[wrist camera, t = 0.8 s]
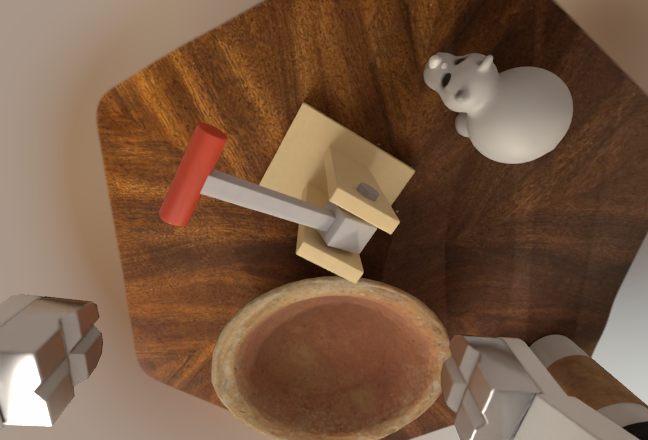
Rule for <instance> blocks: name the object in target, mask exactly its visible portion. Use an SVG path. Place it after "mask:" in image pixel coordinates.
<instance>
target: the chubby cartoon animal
mask: <svg viewBox="0 0 648 440" xmlns="http://www.w3.org/2000/svg"><path fill="white" fill-rule="evenodd" d="M423 75H424V81H425V83H426V84H427V85H428V86H429V87H430V88H431V89H433V90H435V91H437V92H438V93H439V95H440V96H441V98H442V100H443V102H444V104H445V105H446V106H447V107H448V108H449V109H451V110H453V111H455V112H460V113H459V114H458V115H457V117H456V120H455V127H456V130H457V132H458V133H459V134H460V135H462V136H464V137H470V140H471V142H472V143H473V145H474V146H475V148H476V149H477V150H478V151H479V152H480V153H482V154H483V155H484V156H486V157H488V158H489V159H492V160H494V161H497V162H501V163H510V164H515V163H523V162H528V161H531V160H534V159H536V158H539V157H541V156H542V155H544V154H546V153H547V152H550V151H552V150H554V149H555V148H556V146H557V144H558V143H559V142H560V141H561V139H562V138H563V137H564V135H565V134H566V132H567V130H568V128H569V126H570V123H571V120H572V115H573V102H572V97H571V94H570V91H569V89H568V88H567V86H566V84H565V83H564V82H563V81H562V80H561V79H560V78H559V77H558V76H556V75H555V74H553V73H552V72H550V71H548V70H545V69H542V68H537V67H517V68H512V69H509V70H506V71H504V72H501V73H498V71H497V68H496V66H495V64H494V63H493V56H492V55H488V56H485V55H482V54H479V53H471V54H467V55H464V56H460V57H458V56H454V55H452V54H450V53H440V52H438V53H437V54H436V55H433V56H432V57H431V58H430V60H429V61H428V62H427V64H426V66H425V69H424V74H423Z"/></svg>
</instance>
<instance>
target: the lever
mask: <svg viewBox="0 0 648 440" xmlns="http://www.w3.org/2000/svg"><path fill="white" fill-rule="evenodd" d="M227 139H228V137H227V136H226V135H225V134H224V133H223V132H222V131H220V130H219V129H217V128H215V127H213V126H211V125H208V124H205V123H198V124H197V126H196V128H195V130H194V133H193V135H192V137H191V140H190V142H189V144H188V146H187V149H186V151H185V153H184V156H183V158H182V160H181V162H180V165H179V167H178V169H177V172H176V174H175V176H174V178H173V181H172V183H171V185H170V188H169V190H168V192H167V195H166V197H165V199H164V201H163V204H162V206H161V208H160V211H159V216H160V217H161V218H162V219H163V220H164V221H165V222H167V223H169V224H172V225H176V226H184V225H186V224H187V223H188V221H189V219H190V217H191V215H192V213H193V211H194V209H195V207H196V204H197V202H198V200H199V198H200V196H201V194H203V195H207V196H210V197H213V198H217V199H220V200H223V201H227V202H230V203H233V204H236V205H240V206H243V207H246V208H250V209H253V210H256V211H260V212H263V213H266V214H269V215H273V216H276V217H279V218H283V219H286V220H289V221H293V222H296V223H299V224H302V225H306V226H309V227H312V228H316V229H317V230H318V232H319V233H320V235H321V236H322V238H323V239H324V241H325V243H326V244H327V245H328V246H331V247H335V248H338V249H342V250H346V251H349V252H353V253H357V254H360V252H361V251H362V250H363V248H364V247H365V245H366V244H367V243H368V241H369V240H370V238H371V237H372V235H373V234H374V233H375V231H376V230H377V227H376V226H374V225H372V224H371V223H369V222H367V221H365V220H363V219H362V218H360V217H358V216H356V215H354V214H352V213H351V212H349V211H347V210H345V209H343V208H341V207H340V206H338V205H336V204H334V203H332V202H331V201H329V200H328V202H327V204H326V205H325V207H324V208H322V207H319V206H317V205H314V204H311V203H308V202H305V201H302V200H300V199H297V198H294V197H291V196H288V195H286V194H283V193H280V192H277V191H274V190H271V189H269V188H266V187H263V186H260V185H257V184H254V183H252V182H249V181H246V180H243V179H240V178H237V177H235V176H232V175H229V174H226V173H223V172H221V171H218V170H215V169H214V167H215V164H216V162H217V160H218V158H219V156H220V154H221V152H222V150H223V148H224V146H225V143H226V141H227Z"/></svg>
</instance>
